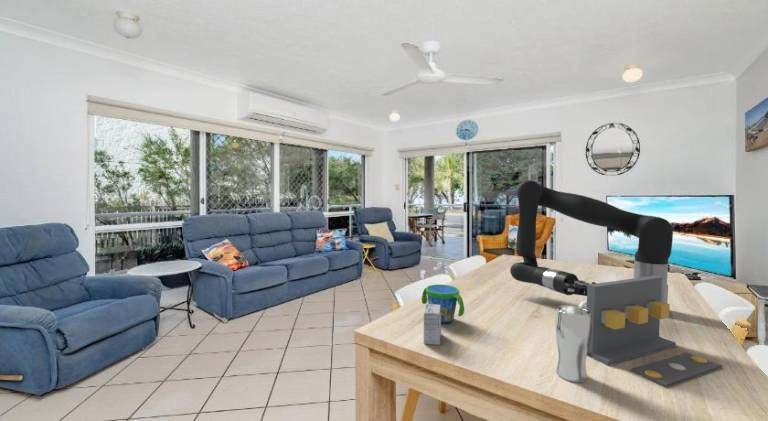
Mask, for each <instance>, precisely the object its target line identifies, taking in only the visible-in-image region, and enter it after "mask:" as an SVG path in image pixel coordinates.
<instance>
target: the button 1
mask: <svg viewBox="0 0 768 421" xmlns="http://www.w3.org/2000/svg"><path fill="white" fill-rule="evenodd" d="M577 307H581V308H584V309H587V300H583V301H581V302H580V303H579V304H578V306H577ZM601 323H603V324H605V326H607V327H609V328H612V329H615V330H616V329H620V328H625V313H624V312H620V311H617V310H609V309H603V310H601Z"/></svg>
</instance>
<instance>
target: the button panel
mask: <svg viewBox="0 0 768 421" xmlns="http://www.w3.org/2000/svg"><path fill="white" fill-rule="evenodd" d="M596 283H597V282H596ZM661 288H662V277H658V276H648V277H640V278H634V277H632V278H627V279H620V280H613V281H606V282H605V281H604V282H598V283H597V284H591V283H590V285H587V296H586V302H587V310H589V311H590V312H591V325H592V332H591V341H590V345H589V349H588V353H587V357H588V358H591V359H593V360H595V361H597V362H600V363H601V364H604V365H605V366H608V367H609V366H613V365H615V364H619V363H622V362H626V361H630V360H634V359H636V358H641V357H644V356H647V355H651V354H655V353H658V352H662V351H666V350H669V349H673V348H676V347H677V343H676V341H673V340H670V339H667V338H664V337H662V336H661V337H660V325H661V324H660V323H661V322H660V321H661V319H658V318H654V317H651V316H650V315H649V314H648V322H647V323H643V324H636V323H633V322H630V321H628V319H626V318H625V328H620V329H616V330H615V329H612V328H609V327H607V326H605V324H603V323H601V310H603V309H609V310H617V311H620V312H624V310H625V305H633V306H641V307H645V308H646V302H647V301H654V302H661Z"/></svg>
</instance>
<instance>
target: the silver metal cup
mask: <svg viewBox="0 0 768 421" xmlns="http://www.w3.org/2000/svg"><path fill="white" fill-rule="evenodd" d="M556 309H557V310H556V316H555V317H556V318H555V337H556V343H557V350H558V362H557V366H556V371H555V372H556V374H557V375H558V377H560V378H561V379H563V380H565V381H568V382H571V383H577V384H578V383H579V384H580V383H585V382H587V380H588V374H587V367H586V366H587V365H586V364H587V363H586V361H587V357H588V356H587V353H588V349H589V345H590V341H591V332H592V325H591V312H590V311H589V310H587V309H584V308H581V307H578V306H577V305H571V304H570V305H568V304H565V305H564V304H563V305H558V306H557V308H556Z"/></svg>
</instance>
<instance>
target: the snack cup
mask: <svg viewBox="0 0 768 421" xmlns="http://www.w3.org/2000/svg"><path fill="white" fill-rule="evenodd" d="M422 291H423V292H422V295H421V303H422V304H423V305H425V304H436V305H441V324H449V323H452V322H453V320H454V318H455V313H456V309H457V308H456V307H457V303H458V305H459V310H458V313H457V314H458V315H457V316H458V317H462V316H463V315H464V313H465V305H464V304H465V303H464V300H463V298H462V296H461V294H460V290H459V288H458V287H456V286H453V285H449V284H430V285H428V286H426V287H425V288H424V289H423V290H422Z"/></svg>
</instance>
